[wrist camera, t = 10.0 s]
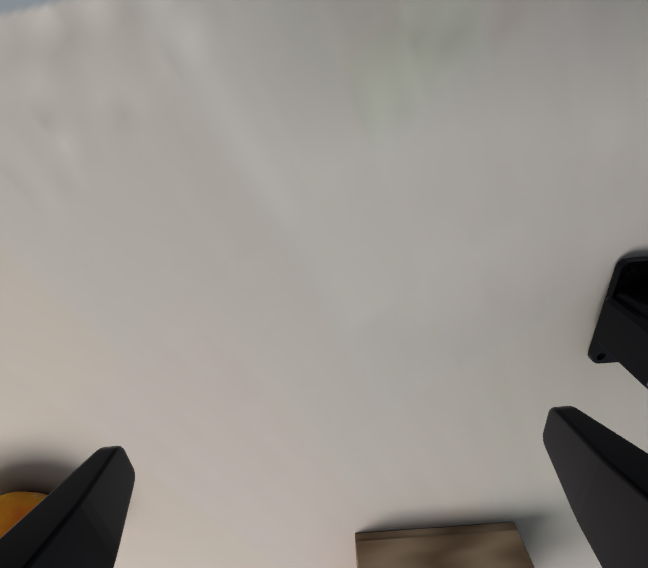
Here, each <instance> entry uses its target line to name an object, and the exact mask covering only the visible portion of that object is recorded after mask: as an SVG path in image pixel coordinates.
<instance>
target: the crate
mask: <svg viewBox="0 0 648 568" xmlns="http://www.w3.org/2000/svg"><path fill="white" fill-rule="evenodd" d="M355 541H356V559H357V568H534V565H533V563H532V561H531V559H530V557H529V554H528V552H527V550H526V548H525V546H524V543H523V541H522V539H521V537H520V534H519V532H518V530H517V528H516V526H515V523H514V522H510V523H496V524H482V525H468V526H454V527H440V528H426V529H412V530H398V531H384V532H370V533H357V534H355Z"/></svg>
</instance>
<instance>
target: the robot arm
mask: <svg viewBox="0 0 648 568" xmlns="http://www.w3.org/2000/svg"><path fill="white" fill-rule="evenodd" d="M628 267H629V269H628V270H627V271H626V269H627V268H628ZM588 357H589V358H590V359H591V360H592V361H593V362H594V363H611V362H619V363H620V364H621V365H622V366H623V367H625V368H626V369H627V370H628V371H629V372H630V373H631V374H632V375H633V376H634V377H635V378H636V379H637V380H638V381H639V382H640V383H642V384H643V385H644V386H645V387H646V388H647V389H648V257H637V258H627V259H623V260H622V261H620V262H619V263H618V264H617V265H616V267H615V270H614V273H613V276H612V279H611V282H610V285H609V288H608V292H607V295H606V298H605V301H604V304H603V307H602V310H601V314H600V317H599V320H598V323H597V326H596V329H595V332H594V336H593V339H592V342H591V345H590V348H589V351H588ZM543 441H544V445H545V447H546V450H547V452H548V454H549V457H550V459H551V462H552V464H553V466H554V469H555V471H556V473H557V476H558V478H559V480H560V483H561V485H562V487H563V490H564V492H565V494H566V497H567V499H568V501H569V504H570V506H571V508H572V510H573V513H574V515H575V517H576V519H577V521H578V523H579V525H580V527H581V529H582V531H583V533H584V535H585V536H586V538H587V540H588V542H589V544H590V546H591V547H592V549H593V551H594V553H595V555H596V557H597V558H598V560H599V562H600V564H601V566H602V568H648V453H646V452H645V451H643V450H641V449H640V448H638V447H637V446H635V445H633V444H632V443H630V442H629V441H627V440H626V439H624V438H622V437H621V436H619V435H618V434H616V433H615V432H613V431H611V430H610V429H608V428H607V427H605V426H604V425H602V424H600V423H599V422H597V421H596V420H594V419H592V418H591V417H589V416H588V415H586V414H585V413H583V412H581V411H580V410H578V409H577V408H575V407H572V406H561V407H553V408H551V409H550V410H549V413H548V417H547V421H546V424H545V428H544V432H543ZM134 482H135V472H134V468H133V466H132V464H131V462H130V460H129V458H128V456H127V454H126V452H125V450H124V449H123V448H122V447H121V446H111V447H103V448H100V449H99V450H97V451H96V452H95V453H94V454H93V455H92V456H90V457H89V458H88V459H87V460H86V461H85V462H84V463H83V464H82V465H80V466H79V467H78V468H77V469H76V470H75V471H74V472H73V473H72V474H71V475H69V476H68V477H67V478H66V479H65V480H64V481H63V482H62V483H61V484H59V485H58V486H57V487H56V488H55V489H54V490H53V491H52V492H51V493H50V494H48V495H47V496H46V497H45V498H44V499H43V500H42V501H41V502H40V503H38V504H37V505H36V506H35V507H34V508H33V509H32V510H31V511H30V512H29V513H27V514H26V515H25V516H24V517H23V518H22V519H21V520H20V521H19V522H17V523H16V524H15V525H14V526H13V527H12V528H11V529H10V530H9V531H8V532H6V533H5V534H4V535H3V536H2V537H1V538H0V568H113V567H114V564H115V561H116V557H117V553H118V549H119V545H120V541H121V537H122V533H123V528H124V524H125V520H126V516H127V512H128V507H129V503H130V499H131V495H132V491H133V486H134Z"/></svg>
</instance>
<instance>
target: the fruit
mask: <svg viewBox="0 0 648 568" xmlns="http://www.w3.org/2000/svg"><path fill="white" fill-rule="evenodd" d="M46 496H47V495H46V494H43V493H37V492H24V491H22V492H11V493H6V494H3V495H0V538H1V537H2V536H3V535H4V534H5V533H6V532H8V531H9V530H10V529H11V528H12V527H13V526H14V525H15V524H16V523H17V522H19V521H20V520H21V519H22V518H23V517H24V516H25V515H26V514H27V513H29V512H30V511H31V510H32V509H33V508H34V507H35V506H36V505H37V504H38V503H40V502H41V501H42V500H43V499H44V498H45V497H46Z"/></svg>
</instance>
